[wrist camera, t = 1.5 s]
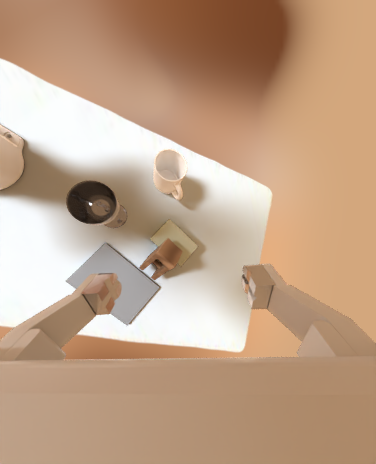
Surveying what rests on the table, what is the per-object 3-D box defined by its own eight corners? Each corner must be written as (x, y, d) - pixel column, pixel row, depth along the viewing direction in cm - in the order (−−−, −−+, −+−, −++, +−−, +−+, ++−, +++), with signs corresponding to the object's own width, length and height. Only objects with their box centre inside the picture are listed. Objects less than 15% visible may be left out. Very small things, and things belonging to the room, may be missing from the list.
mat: (67, 280, 36) (65, 281, 35) (106, 242, 38) (105, 243, 38) (127, 323, 39) (127, 325, 38) (159, 286, 42) (159, 287, 41)
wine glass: (99, 230, 38) (68, 226, 24) (96, 202, 38) (63, 180, 24) (129, 227, 40) (118, 222, 26) (127, 201, 40) (114, 180, 26)
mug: (188, 199, 45) (198, 188, 35) (165, 208, 43) (170, 200, 33) (172, 165, 44) (178, 144, 35) (148, 173, 42) (148, 153, 32)
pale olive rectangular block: (149, 239, 42) (149, 239, 38) (167, 220, 43) (169, 218, 39) (178, 264, 44) (181, 266, 40) (194, 245, 45) (198, 246, 41)
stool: (140, 265, 40) (136, 274, 30) (165, 237, 43) (170, 237, 32) (154, 276, 41) (155, 290, 31) (178, 249, 44) (186, 253, 33)
